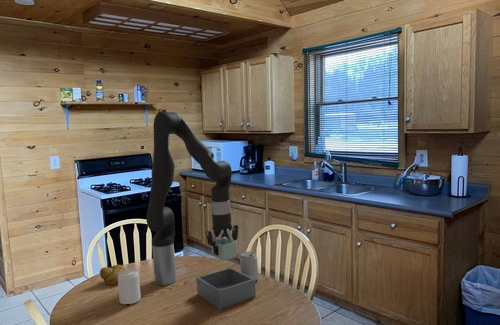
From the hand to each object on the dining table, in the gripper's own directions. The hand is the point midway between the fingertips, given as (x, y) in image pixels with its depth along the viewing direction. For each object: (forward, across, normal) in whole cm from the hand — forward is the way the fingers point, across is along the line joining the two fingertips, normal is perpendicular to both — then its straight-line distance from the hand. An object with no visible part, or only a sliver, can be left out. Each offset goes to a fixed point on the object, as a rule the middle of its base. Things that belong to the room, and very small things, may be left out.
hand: (223, 253), depth 158 cm
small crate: (+1, 0, 0) cm, 1 cm away
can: (+18, -16, -6) cm, 25 cm away
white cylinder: (+18, +32, -21) cm, 42 cm away
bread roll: (+18, +30, -46) cm, 58 cm away
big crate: (+17, 0, 0) cm, 17 cm away
